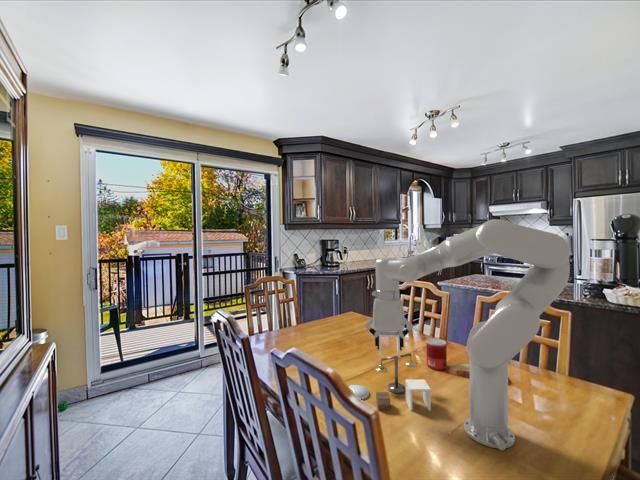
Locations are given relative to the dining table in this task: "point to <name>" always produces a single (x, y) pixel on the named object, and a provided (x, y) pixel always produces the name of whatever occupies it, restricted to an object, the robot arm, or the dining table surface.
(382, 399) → the block
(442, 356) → the canned food
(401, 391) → the balance
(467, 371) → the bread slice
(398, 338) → the cover
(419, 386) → the cover
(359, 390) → the dish
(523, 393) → the dining table surface
